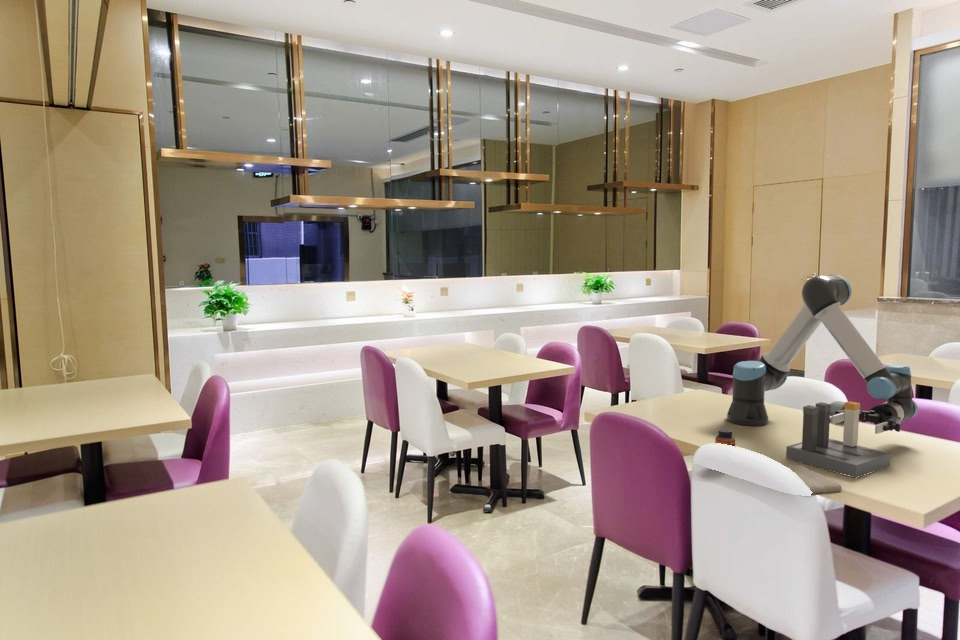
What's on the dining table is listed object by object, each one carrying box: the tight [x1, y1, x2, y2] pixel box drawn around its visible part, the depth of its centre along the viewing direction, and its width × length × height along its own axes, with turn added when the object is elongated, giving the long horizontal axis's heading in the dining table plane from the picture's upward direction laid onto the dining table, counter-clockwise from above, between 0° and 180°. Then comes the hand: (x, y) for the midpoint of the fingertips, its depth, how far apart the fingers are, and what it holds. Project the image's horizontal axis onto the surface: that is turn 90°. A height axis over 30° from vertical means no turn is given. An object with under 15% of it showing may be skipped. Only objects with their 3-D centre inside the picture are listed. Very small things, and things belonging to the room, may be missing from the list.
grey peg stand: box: [785, 401, 891, 478], centre depth 201 cm, size 22×20×18 cm
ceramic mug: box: [830, 400, 846, 422], centre depth 251 cm, size 11×8×8 cm
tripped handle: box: [842, 400, 861, 447], centre depth 205 cm, size 3×3×14 cm
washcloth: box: [787, 464, 843, 495], centre depth 185 cm, size 12×18×3 cm, turn 13°
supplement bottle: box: [714, 428, 736, 447], centre depth 200 cm, size 6×6×11 cm
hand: (853, 424), depth 205 cm, fingers open, 13 cm apart
